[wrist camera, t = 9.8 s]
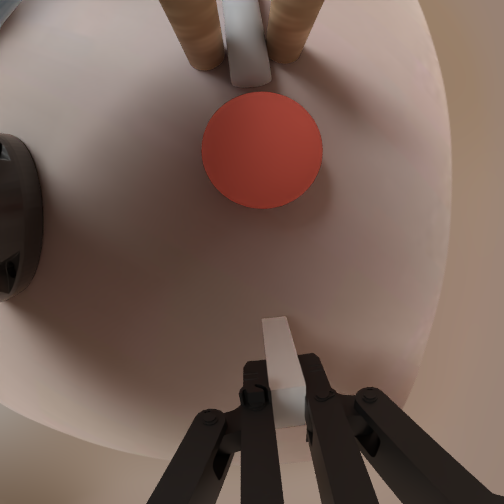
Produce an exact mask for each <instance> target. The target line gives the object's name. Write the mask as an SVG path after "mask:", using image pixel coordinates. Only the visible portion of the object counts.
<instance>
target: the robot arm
mask: <svg viewBox="0 0 504 504" xmlns="http://www.w3.org/2000/svg"><path fill="white" fill-rule="evenodd" d="M21 1H22V0H0V28H1V26H2V25H3V23H4V22H5V21H6V19H7V18H8V17H9V16H10V14H11V13H12V12H13V11H14V9H15V8H16V7H17V6H18V5H19V3H20V2H21ZM42 233H43V211H42V198H41V191H40V185H39V180H38V176H37V172H36V168H35V165H34V163H33V160H32V158H31V155H30V153H29V151H28V150H27V148H26V147H25V145H24V144H23V143H22V142H21V141H20V140H19V139H18V138H16V137H15V136H13V135H10V134H2V133H0V302H2V301H5V300H7V299H9V298H11V297H13V296H14V295H16V294H18V293H19V292H21V291H23V290H24V289H25V288H26V287H27V286H28V284H29V283H30V281H31V280H32V278H33V276H34V274H35V271H36V268H37V265H38V261H39V257H40V252H41V245H42ZM262 326H263V336H264V346H265V356H266V360H259V361H248V362H247V363H246V365H245V366H244V368H243V387H242V388H241V389H240V391H239V397H240V402H241V405H240V406H239V407H238V408H237V409H235V410H233V411H230V412H226V413H223V412H221V411H220V410H217V409H207V410H203V411H201V412H200V413H198V414H197V416H196V417H195V418H194V420H193V422H192V424H191V426H190V428H189V429H188V431H187V433H186V435H185V437H184V439H183V440H182V442H181V444H180V446H179V448H178V449H177V451H176V453H175V455H174V457H173V458H172V460H171V462H170V464H169V465H168V467H167V469H166V471H165V472H164V474H163V476H162V478H161V479H160V481H159V483H158V485H157V487H156V488H155V490H154V491H153V493H152V495H151V497H150V498H149V500H148V502H147V503H146V504H215V503H216V500H217V498H218V496H219V493H220V491H221V488H222V485H223V483H224V480H225V477H226V475H227V472H228V470H229V467H230V464H231V462H232V459H233V456H234V452H238V451H241V504H284V500H283V491H282V482H281V474H280V465H279V457H278V448H277V440H276V431H275V429H279V428H287V427H295V426H301V425H305V421H306V425H307V435H306V442H309V447H310V451H311V456H312V460H313V465H314V469H315V474H316V478H317V483H318V488H319V493H320V498H321V502H322V504H379V502H378V499H377V496H376V494H375V491H374V488H373V485H372V483H371V480H370V477H369V474H368V472H367V469H366V466H365V464H364V461H363V459H362V456H361V453H360V451H361V452H362V454H363V455H364V456H365V458H366V459H367V460H368V461H369V463H370V464H371V465H372V466H373V468H374V469H375V470H376V471H377V473H378V474H379V475H380V476H381V477H382V479H383V480H384V481H385V483H386V484H387V485H388V486H389V487H390V489H391V490H392V491H393V492H394V494H395V495H396V496H397V497H398V498H399V500H400V501H401V502H402V503H403V504H504V496H500V495H496V494H493V493H492V492H490V491H489V490H488V489H487V488H486V487H485V486H484V485H483V484H482V483H480V482H479V481H478V480H477V479H476V478H475V477H474V476H473V475H472V474H470V473H469V472H468V471H467V470H466V469H465V468H464V467H463V466H462V465H461V464H460V463H458V462H457V461H456V460H455V459H454V458H453V457H452V456H451V455H450V454H449V453H447V452H446V451H445V450H444V449H443V448H442V447H441V446H440V445H439V444H438V443H437V442H435V440H433V439H432V438H431V437H430V436H429V435H428V434H427V433H426V432H425V431H424V430H423V429H422V428H421V427H419V426H418V425H417V424H416V423H415V422H414V421H413V420H412V419H411V418H410V417H409V416H407V414H406V413H405V412H403V411H402V410H401V409H400V408H399V407H398V406H397V405H396V404H395V403H394V402H393V401H392V400H391V399H390V398H389V397H388V396H386V395H385V394H384V393H383V392H382V391H381V390H379V389H378V388H374V387H366V388H363V389H361V390H359V391H358V392H357V394H356V395H341V394H338V393H337V392H336V391H335V390H334V389H332V388H331V387H330V384H329V381H328V379H327V376H326V374H325V371H324V369H323V366H322V364H321V361H320V359H319V357H318V356H316V355H315V354H314V353H310V354H303V355H297V352H296V349H295V345H294V342H293V338H292V335H291V332H290V328H289V325H288V321H287V318H286V316H282V317H274V318H265V319H262Z"/></svg>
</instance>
